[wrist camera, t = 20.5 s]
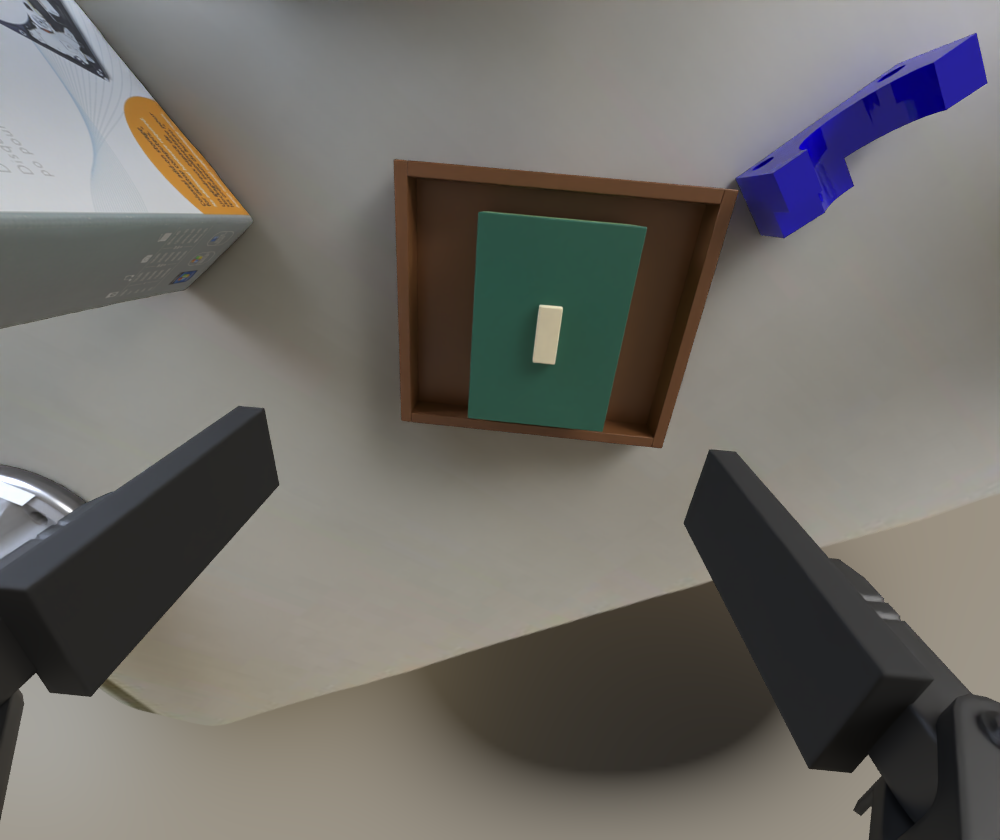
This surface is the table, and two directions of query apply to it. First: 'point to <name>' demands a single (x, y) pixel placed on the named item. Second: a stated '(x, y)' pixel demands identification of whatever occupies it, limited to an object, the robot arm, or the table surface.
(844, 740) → the robot arm
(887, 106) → the cable holder
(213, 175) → the hard drive box
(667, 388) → the tray
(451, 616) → the table surface
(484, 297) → the box
